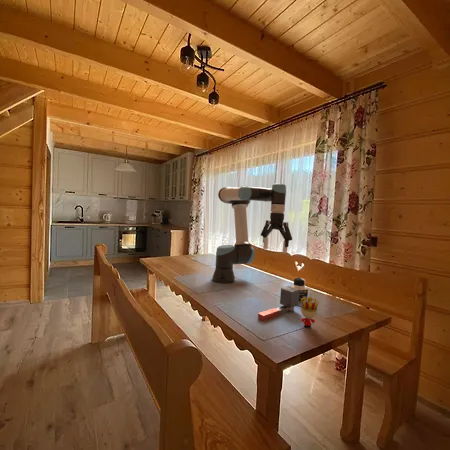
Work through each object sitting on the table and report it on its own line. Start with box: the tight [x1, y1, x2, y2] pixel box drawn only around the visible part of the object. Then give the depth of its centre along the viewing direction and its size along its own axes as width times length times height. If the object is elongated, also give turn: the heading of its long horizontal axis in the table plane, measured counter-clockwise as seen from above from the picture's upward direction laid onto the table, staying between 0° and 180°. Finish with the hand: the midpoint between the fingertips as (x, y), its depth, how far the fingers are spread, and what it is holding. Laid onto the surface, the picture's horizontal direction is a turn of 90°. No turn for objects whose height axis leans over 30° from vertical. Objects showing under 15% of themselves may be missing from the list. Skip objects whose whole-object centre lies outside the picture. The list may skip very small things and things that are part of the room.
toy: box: [299, 292, 320, 329], centre depth 111 cm, size 7×7×15 cm
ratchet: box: [257, 305, 295, 322], centre depth 123 cm, size 23×5×8 cm, turn 130°
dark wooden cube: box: [279, 285, 300, 308], centre depth 128 cm, size 6×6×8 cm
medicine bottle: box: [289, 277, 309, 303], centre depth 144 cm, size 7×7×12 cm
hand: (274, 250), depth 143 cm, fingers open, 13 cm apart
